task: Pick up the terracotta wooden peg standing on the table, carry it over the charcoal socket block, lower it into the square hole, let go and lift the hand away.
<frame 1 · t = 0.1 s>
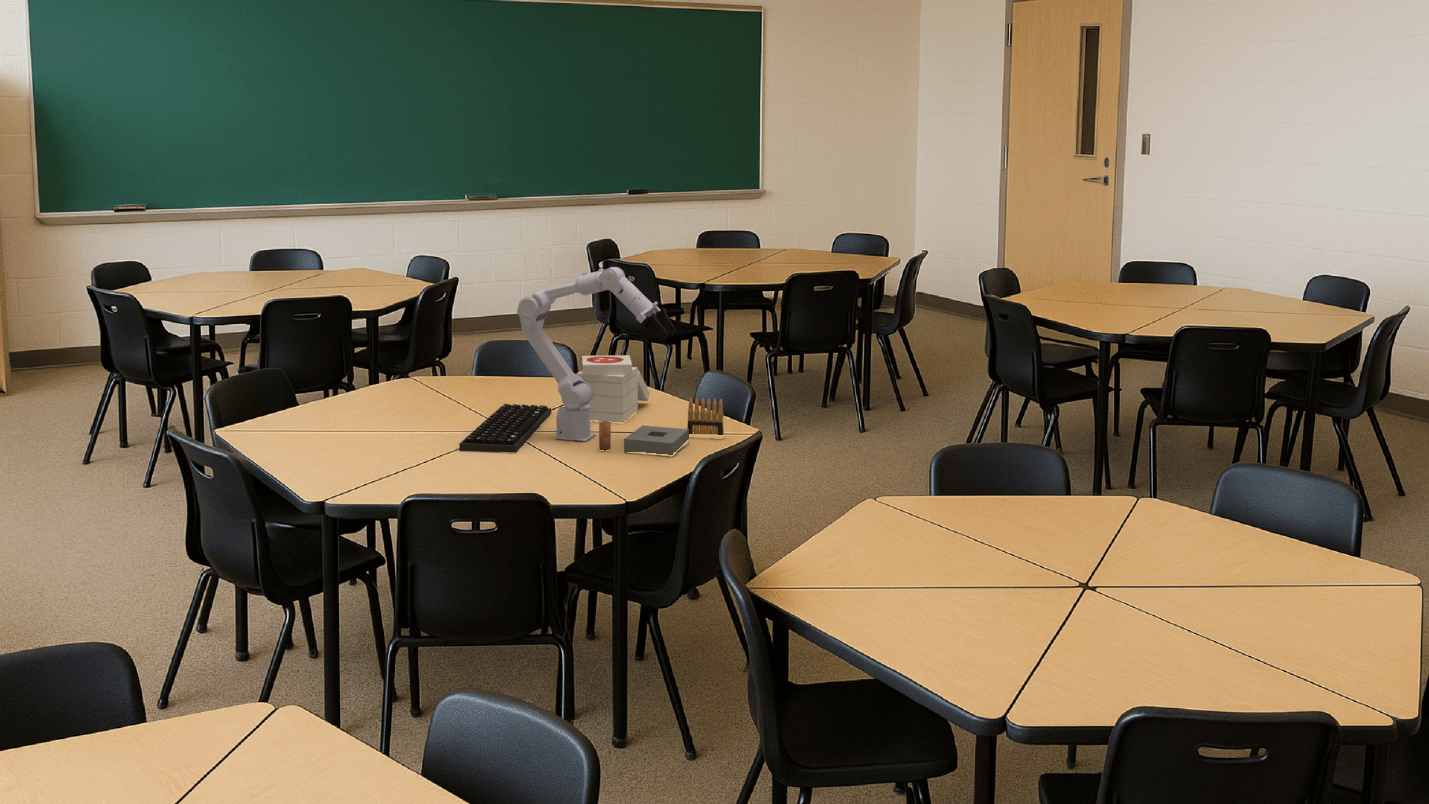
hand: (669, 335, 323), 32 cm above the table, tool tilted 50°, fingers open, 7 cm apart
socket block: (656, 447, 329), on the table
ammunition clip: (705, 438, 340), on the table
peg: (605, 450, 325), on the table
pizza boxes: (612, 413, 368), on the table
computer keyboard: (508, 434, 343), on the table
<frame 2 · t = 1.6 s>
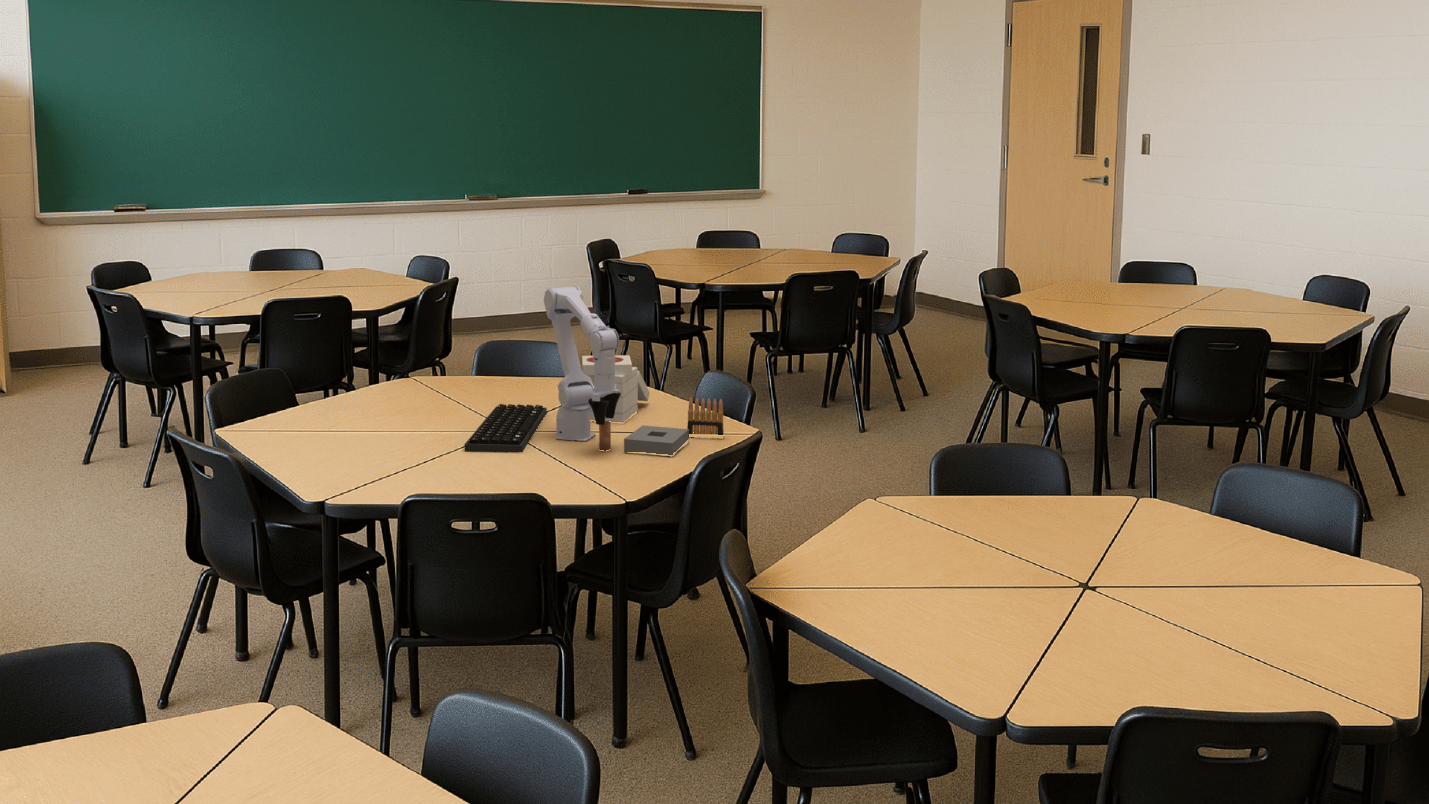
hand: (604, 421, 323), 8 cm above the table, tool pointing down, fingers open, 7 cm apart
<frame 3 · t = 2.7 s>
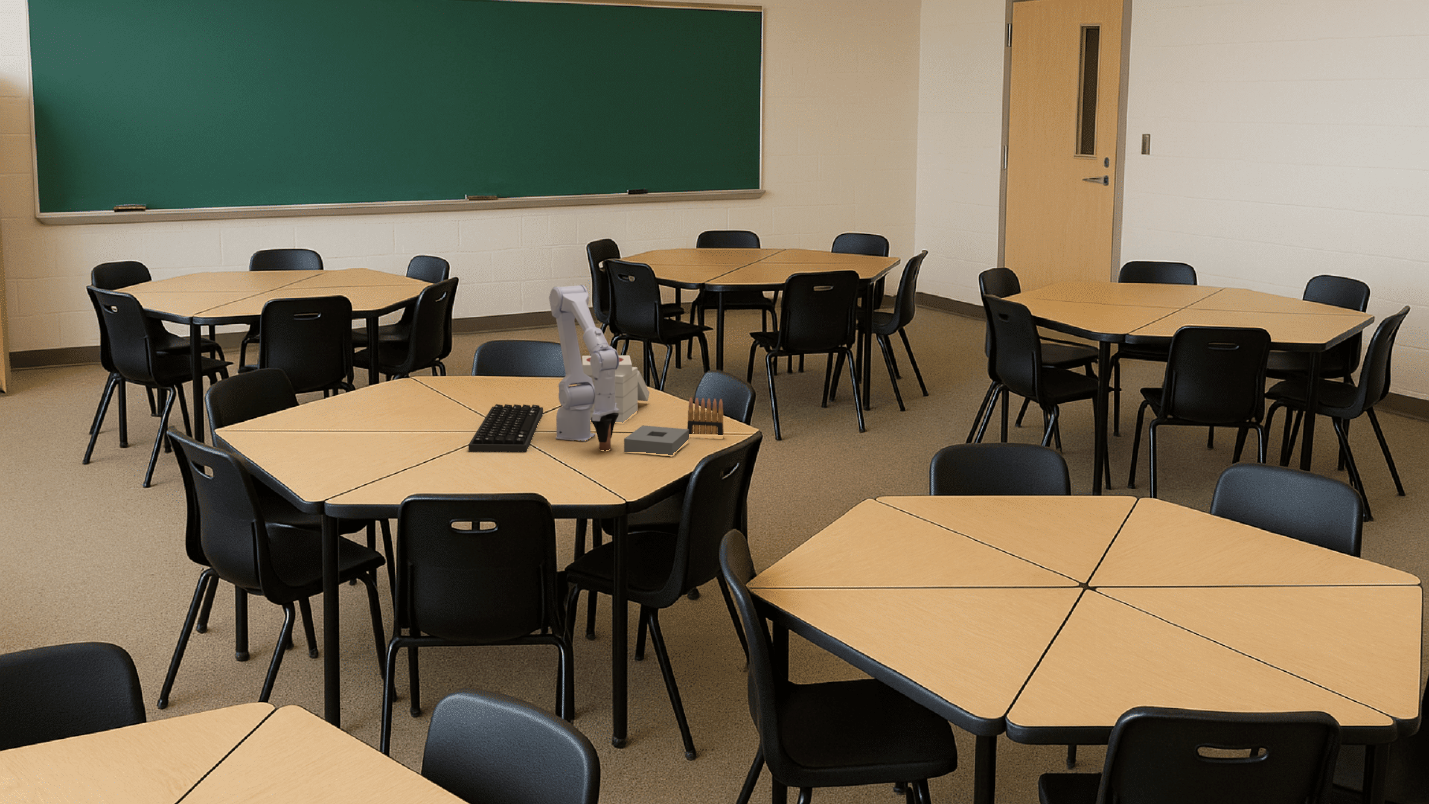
hand: (604, 440, 325), 3 cm above the table, tool pointing down, fingers closed on peg, 3 cm apart
peg: (605, 450, 325), on the table, touching gripper
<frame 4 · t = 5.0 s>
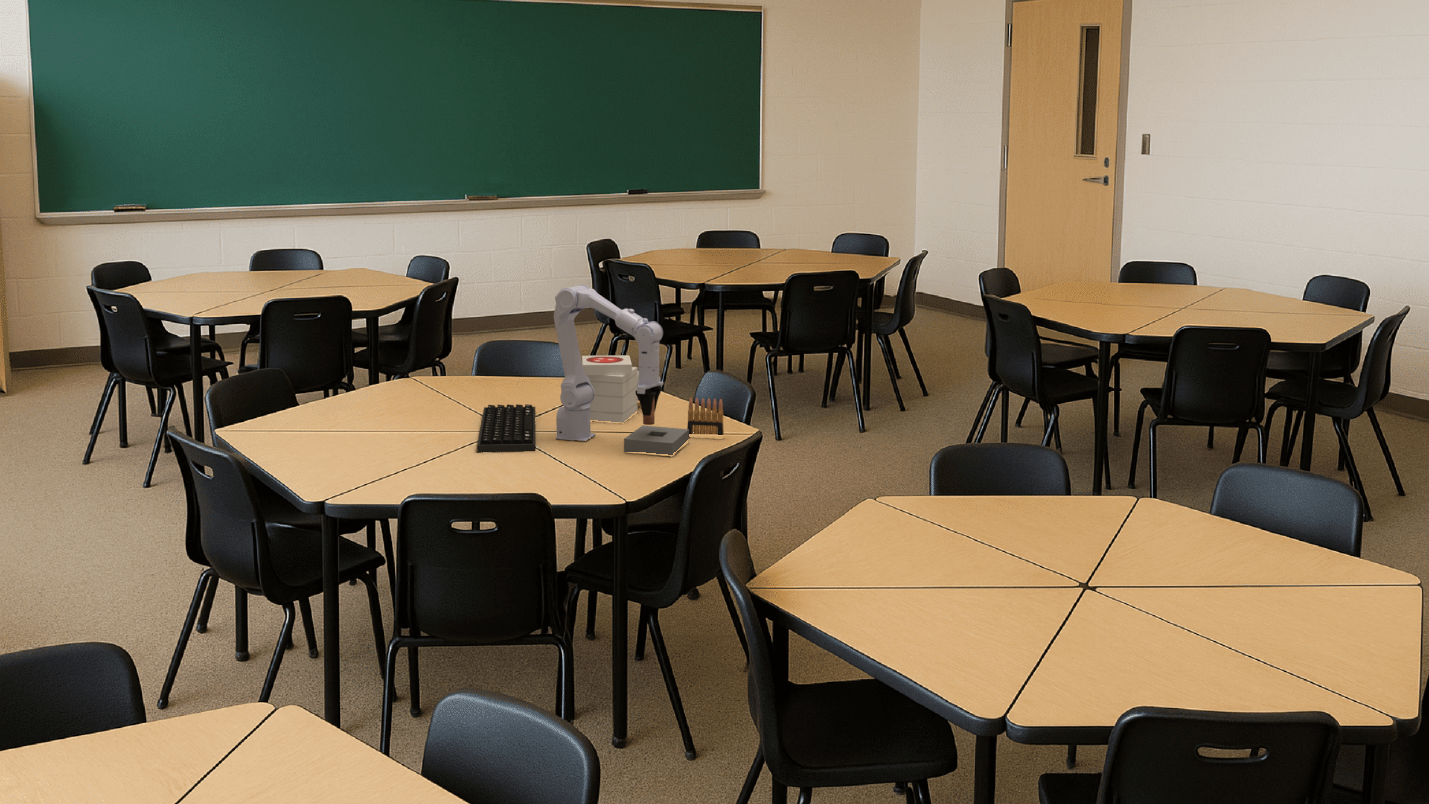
hand: (648, 413, 326), 10 cm above the table, tool pointing down, fingers closed on peg, 3 cm apart
peg: (648, 423, 326), point 7 cm above the table, touching gripper
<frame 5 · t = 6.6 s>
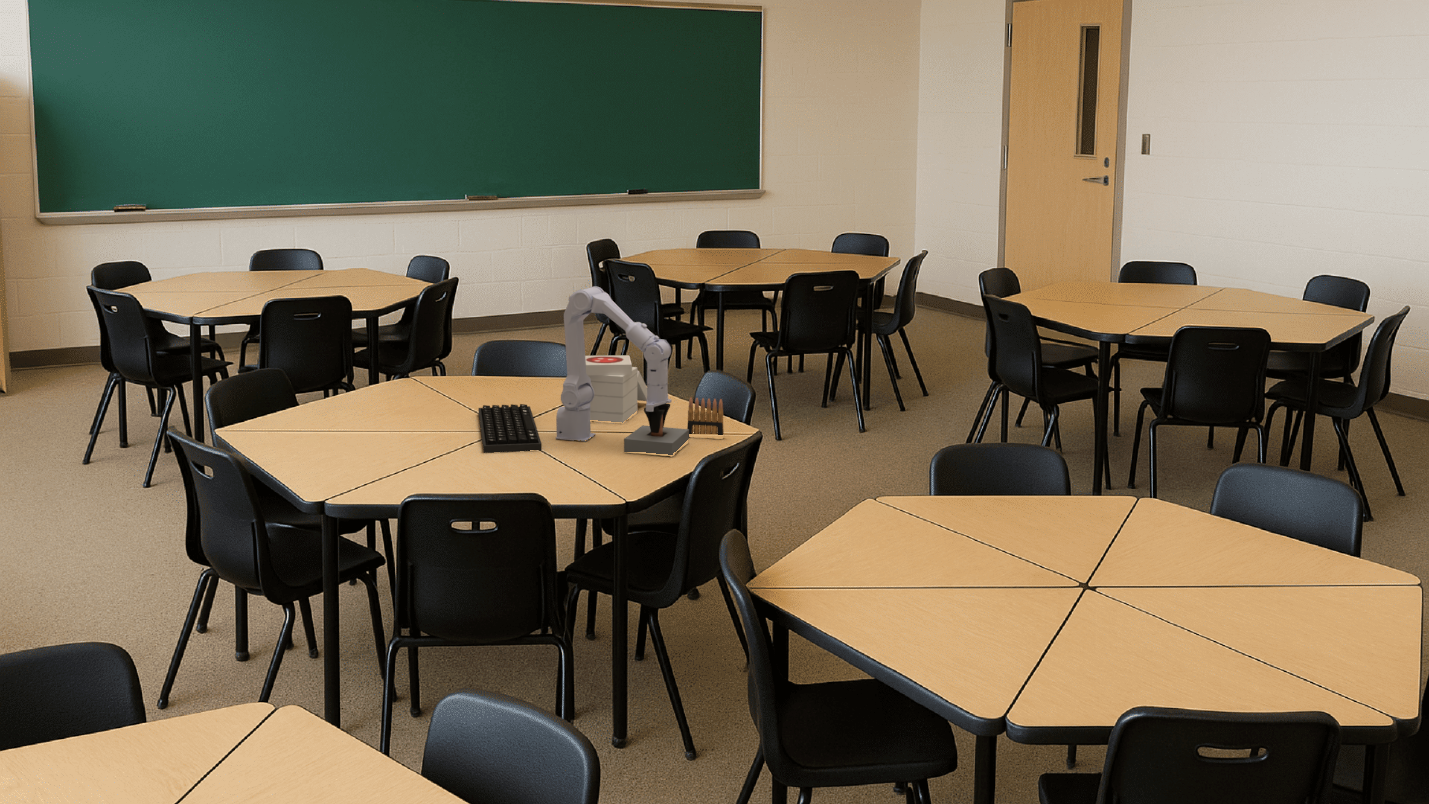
hand: (657, 430, 327), 5 cm above the table, tool pointing down, fingers closed on peg, 3 cm apart
peg: (657, 440, 328), point 2 cm above the table, touching gripper
when the fingers open (5 cm above the table, at t = 7.5 s): peg drops 2 cm, resting in socket block.
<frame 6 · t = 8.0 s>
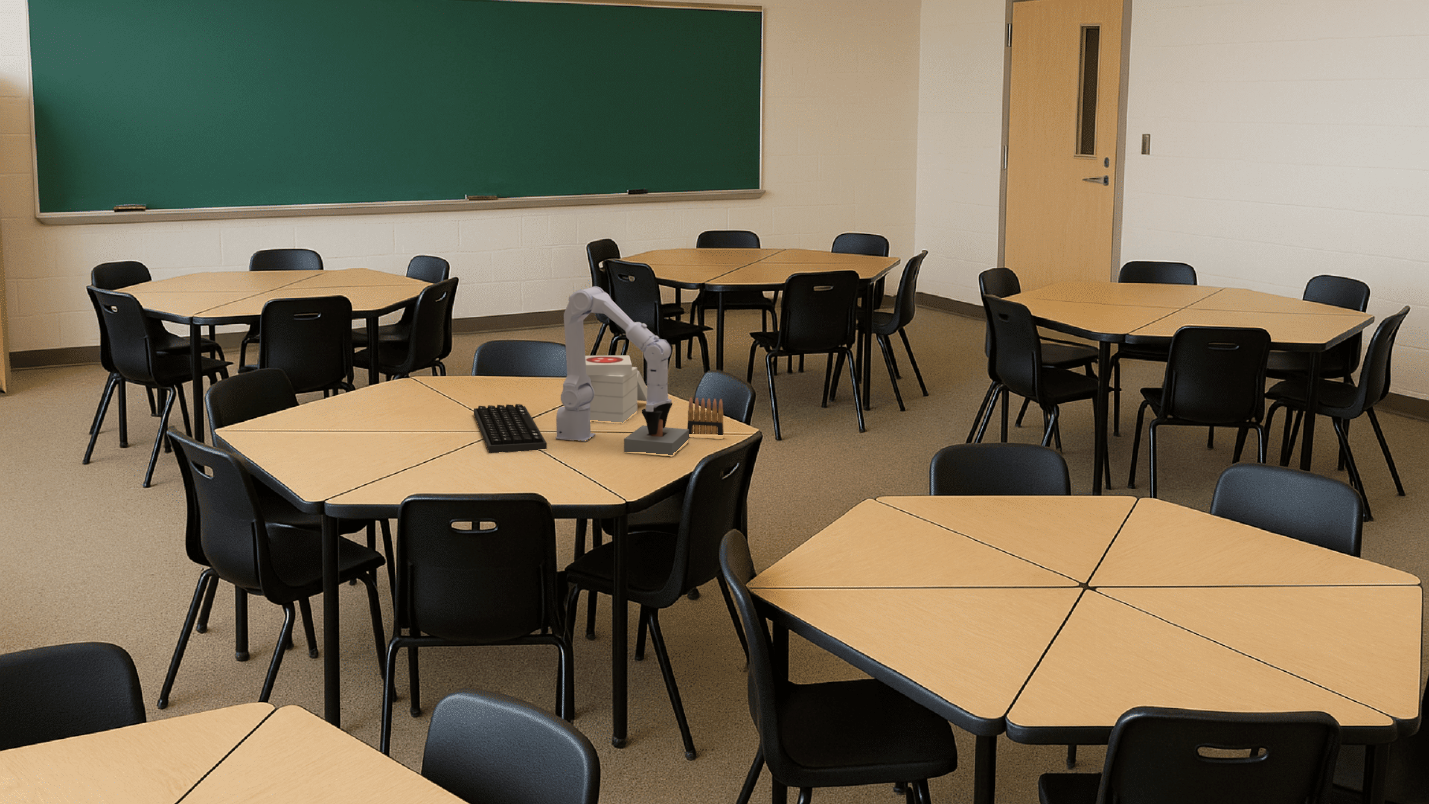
hand: (657, 430, 327), 5 cm above the table, tool pointing down, fingers open, 7 cm apart
peg: (656, 447, 329), resting in socket block
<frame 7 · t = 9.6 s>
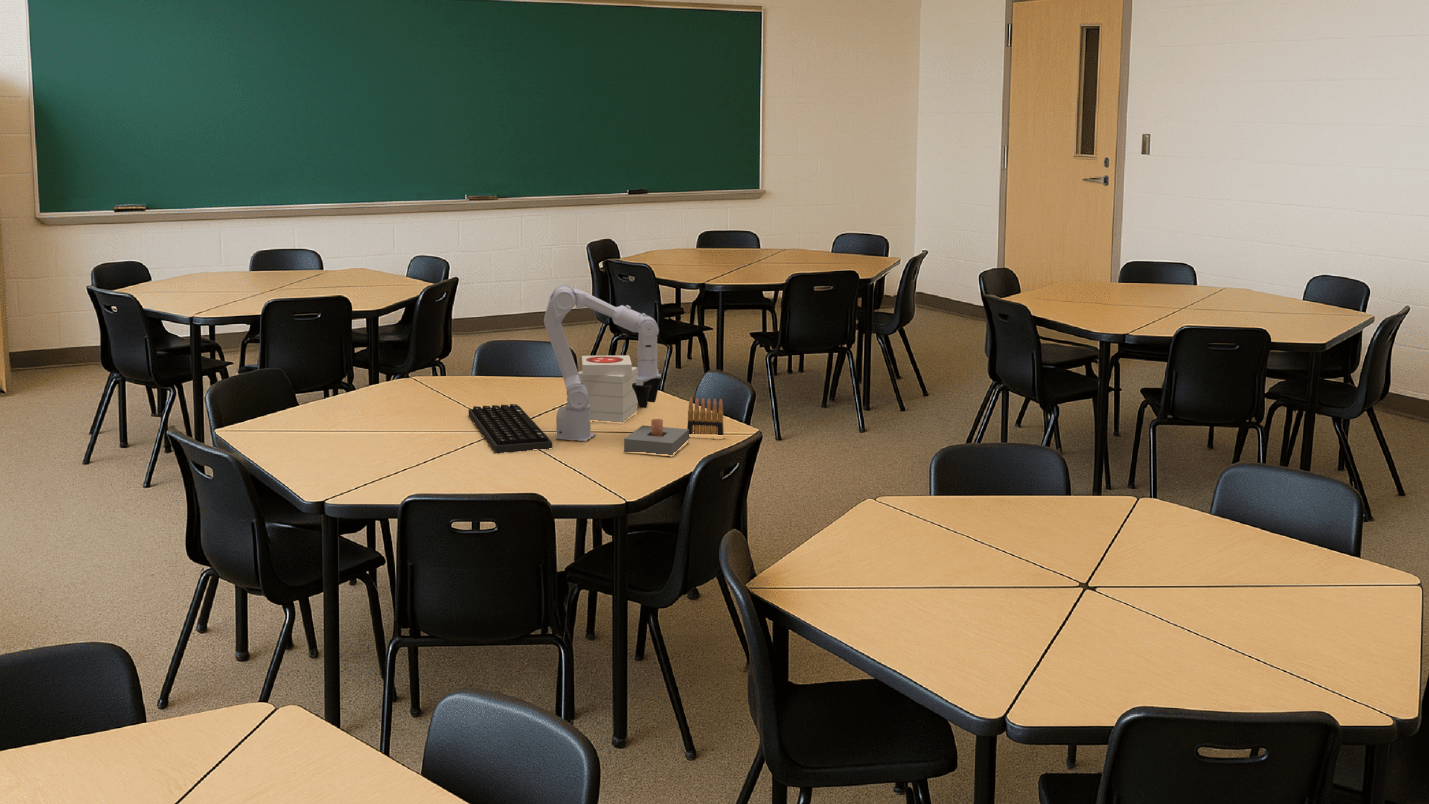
hand: (647, 404, 338), 10 cm above the table, tool pointing down, fingers open, 7 cm apart
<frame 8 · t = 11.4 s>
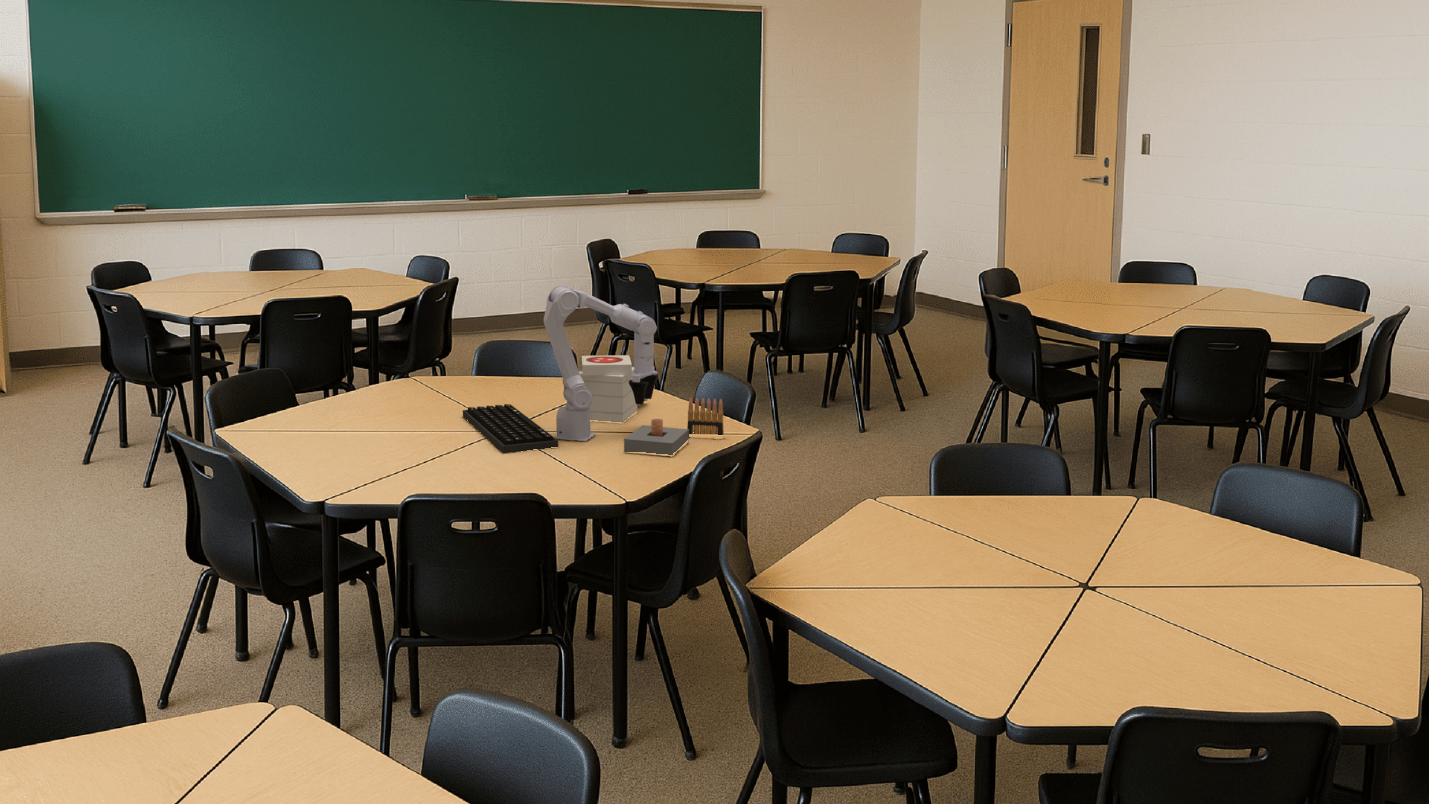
hand: (643, 401, 343), 9 cm above the table, tool pointing down, fingers open, 7 cm apart
at the end: peg 0.0 cm off-centre on the socket block, point 0.0 cm above the socket block's base; peg tilted 0°; the gripper is holding nothing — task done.
